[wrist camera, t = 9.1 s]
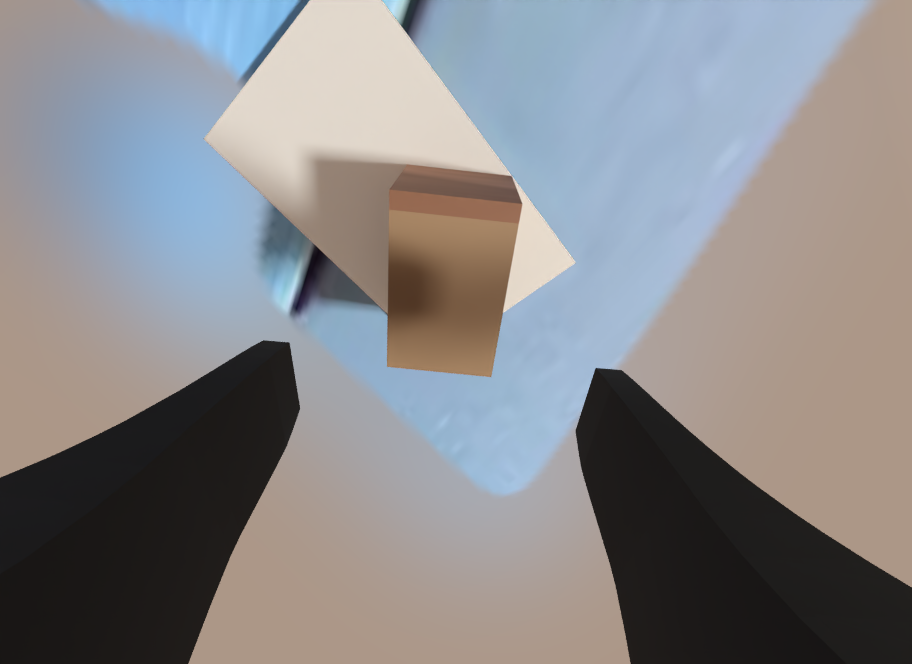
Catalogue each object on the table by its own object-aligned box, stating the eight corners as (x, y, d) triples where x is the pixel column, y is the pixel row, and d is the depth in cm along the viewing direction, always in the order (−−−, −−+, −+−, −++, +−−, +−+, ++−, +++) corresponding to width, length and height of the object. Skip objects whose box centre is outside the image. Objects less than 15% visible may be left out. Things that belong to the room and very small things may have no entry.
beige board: (210, 137, 16) (203, 139, 16) (350, -43, 13) (345, -47, 13) (436, 353, 21) (435, 359, 20) (573, 258, 18) (575, 262, 18)
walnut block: (487, 323, 19) (491, 377, 16) (402, 314, 19) (387, 366, 16) (511, 176, 16) (522, 204, 12) (407, 164, 16) (389, 189, 12)
